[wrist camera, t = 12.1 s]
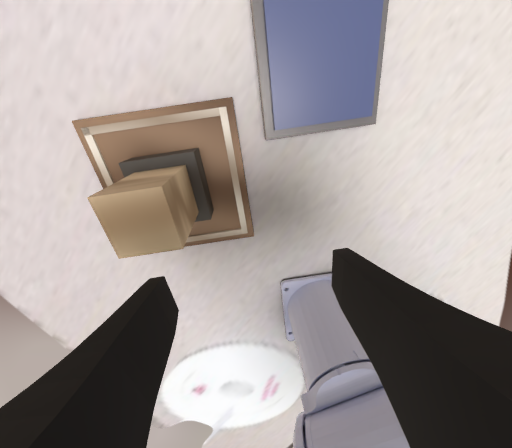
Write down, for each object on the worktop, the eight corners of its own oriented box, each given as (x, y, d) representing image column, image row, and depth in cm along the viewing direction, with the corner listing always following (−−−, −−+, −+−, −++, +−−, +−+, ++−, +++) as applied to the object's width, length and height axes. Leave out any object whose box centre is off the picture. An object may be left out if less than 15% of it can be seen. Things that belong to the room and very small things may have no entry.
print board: (253, 233, 20) (254, 237, 19) (136, 250, 20) (133, 255, 19) (232, 97, 15) (232, 96, 15) (77, 120, 15) (69, 121, 14)
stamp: (213, 209, 18) (200, 257, 12) (155, 218, 18) (111, 271, 12) (198, 147, 16) (172, 167, 10) (131, 157, 16) (62, 184, 10)
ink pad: (368, 123, 17) (379, 124, 15) (265, 138, 17) (267, 140, 15) (381, -22, 13) (398, -38, 12) (250, -3, 13) (251, -17, 12)
